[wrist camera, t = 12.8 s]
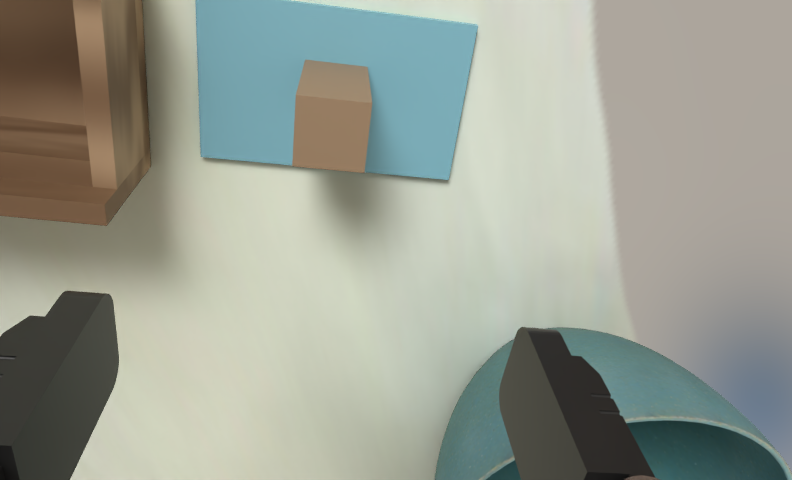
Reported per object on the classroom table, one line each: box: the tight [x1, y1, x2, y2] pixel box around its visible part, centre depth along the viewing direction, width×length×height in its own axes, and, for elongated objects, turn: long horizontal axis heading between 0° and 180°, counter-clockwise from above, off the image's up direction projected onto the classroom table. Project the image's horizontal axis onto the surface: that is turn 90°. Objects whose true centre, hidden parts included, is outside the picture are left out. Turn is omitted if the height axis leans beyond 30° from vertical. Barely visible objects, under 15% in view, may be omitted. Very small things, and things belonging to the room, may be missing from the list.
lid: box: [196, 0, 478, 180], centre depth 27 cm, size 8×13×7 cm, turn 82°
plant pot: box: [435, 328, 792, 480], centre depth 35 cm, size 18×18×12 cm
